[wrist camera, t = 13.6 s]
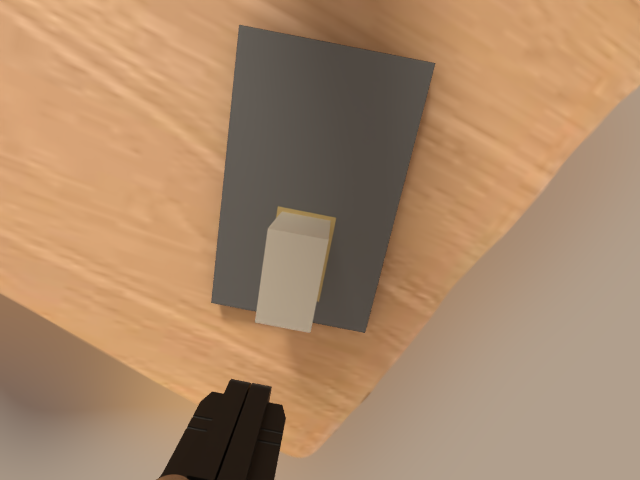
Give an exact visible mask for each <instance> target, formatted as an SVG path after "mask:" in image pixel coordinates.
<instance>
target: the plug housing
mask: <svg viewBox="0 0 640 480" xmlns="http://www.w3.org/2000/svg"><path fill="white" fill-rule="evenodd" d="M330 222H331V221H330V220H325V219H319V218H314V217H309V216H303V215H298V214H293V213H287V212H281V213H280V214H279V216H278V217H277V218H276V219H275V220H274V222H273V223H272V224H271V225H270V226H269V228H268V231H267V238H266V245H265V252H264V260H263V267H262V274H261V282H260V289H259V296H258V303H257V311H256V318H255V323H260V324H266V325H271V326H276V327H282V328H287V329H292V330H297V331H303V332H308V333H311V327H312V322H313V317H314V312H315V307H316V302H317V297H318V292H319V287H320V281H321V276H322V271H323V266H324V261H325V256H326V251H327V246H328V241H329V232H330Z"/></svg>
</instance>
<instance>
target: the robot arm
mask: <svg viewBox="0 0 640 480" xmlns="http://www.w3.org/2000/svg"><path fill="white" fill-rule="evenodd" d="M271 388H272V387H271V386H265V385H260V384H255V383H252V384H251V383H249V382H244V381H239V380H234V379H231V380H230V381H229V383H228V386H227V388H226V390H225V392H224V394H222V393H217V392H211V393H210V394H209V395H208V396H207V397H205V398H204V399H203V400H202V401H201V402H200V404H199V405H198V407H197V410H196V411H195V413H194V415H193V418H192V419H191V421H190V423H189V424H188V427H187V429H186V430H185V432H184V434H183V436H182V438H181V439H180V441H179V443H178V445H177V447H176V449H175V451H174V453H173V455H172V457H171V458H170V460H169V462H168V464H167V466H166V468H165V470H164V472H163V473H162V475H161V476H160V477H159V478H158V479H156V480H274V477H275V472H276V467H277V461H278V456H279V451H280V446H281V440H282V435H283V430H284V425H285V420H286V417H285V413H284V410H283V406H282V405H279V404H274V403H269V400H270V394H271Z"/></svg>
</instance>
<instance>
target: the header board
mask: <svg viewBox="0 0 640 480" xmlns="http://www.w3.org/2000/svg"><path fill="white" fill-rule="evenodd" d="M434 66H435V63H432V62H426V61H421V60H416V59H411V58H406V57H401V56H396V55H391V54H386V53H381V52H375V51H370V50H365V49H360V48H355V47H350V46H345V45H340V44H335V43H330V42H325V41H319V40H314V39H309V38H304V37H299V36H294V35H289V34H284V33H279V32H274V31H268V30H263V29H258V28H253V27H248V26H243V25H239V32H238V42H237V52H236V62H235V72H234V82H233V92H232V102H231V112H230V122H229V132H228V142H227V151H226V161H225V171H224V181H223V191H222V201H221V211H220V221H219V231H218V241H217V251H216V261H215V271H214V281H213V291H212V301H211V303H215V304H220V305H225V306H230V307H235V308H241V309H246V310H251V311H257V303H258V296H259V289H260V282H261V274H262V267H263V260H264V252H265V245H266V238H267V231H268V228H269V226H270V225H271V224H272V223H273V222H274V220H275V219H276V218H277V217H278V216H279V214H280V213H281V212H287V213H293V214H298V215H303V216H309V217H314V218H319V219H325V220H330V221H331V222H330V232H329V241H328V246H327V251H326V256H325V261H324V266H323V271H322V276H321V281H320V287H319V292H318V297H317V302H316V307H315V312H314V317H313V322H312V323H317V324H322V325H327V326H333V327H338V328H343V329H348V330H353V331H358V332H363V333H365V331H366V327H367V324H368V320H369V316H370V312H371V308H372V304H373V301H374V297H375V293H376V289H377V285H378V281H379V278H380V274H381V270H382V266H383V262H384V258H385V254H386V251H387V247H388V243H389V239H390V235H391V231H392V228H393V224H394V220H395V216H396V212H397V208H398V205H399V201H400V197H401V193H402V189H403V185H404V182H405V178H406V174H407V170H408V166H409V162H410V159H411V155H412V151H413V147H414V143H415V139H416V136H417V132H418V128H419V124H420V120H421V116H422V112H423V109H424V105H425V101H426V97H427V93H428V89H429V86H430V82H431V78H432V74H433V70H434Z"/></svg>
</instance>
